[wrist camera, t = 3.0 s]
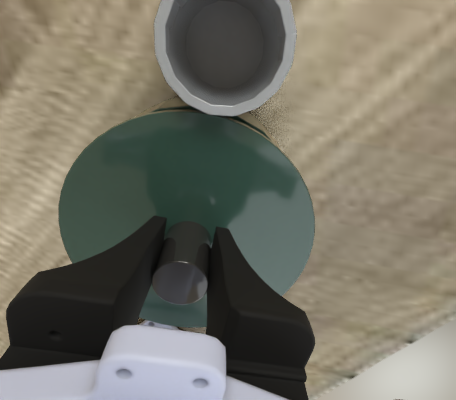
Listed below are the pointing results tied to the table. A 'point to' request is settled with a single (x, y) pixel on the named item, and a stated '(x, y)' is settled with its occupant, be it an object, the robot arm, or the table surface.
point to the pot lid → (189, 204)
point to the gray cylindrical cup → (225, 51)
